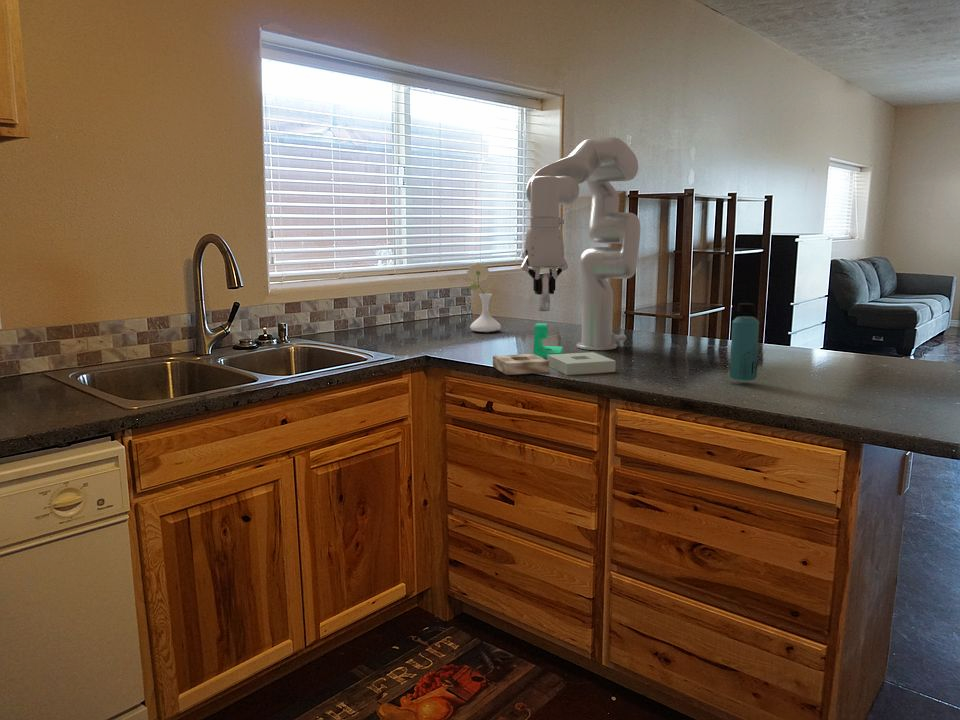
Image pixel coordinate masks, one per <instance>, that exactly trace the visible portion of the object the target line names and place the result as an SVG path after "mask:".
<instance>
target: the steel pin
mask: <svg viewBox="0 0 960 720" xmlns="http://www.w3.org/2000/svg"><path fill="white" fill-rule="evenodd" d="M539 277H540V280H541V294H540V295H538V312H551V311H550V310H551V294H550V273H549V272H540V276H539Z"/></svg>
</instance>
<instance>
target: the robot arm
mask: <svg viewBox="0 0 960 720" xmlns="http://www.w3.org/2000/svg"><path fill="white" fill-rule="evenodd" d="M638 171H639V161H638V158H637V156H636V154H635V153H634V151H633V150H632V149H631V148H630V147H629V146H628V145H627V143H626V142H625V141H623V140H622V139H621V138H618V137H615V136H614V137H612V136H611V137H597V138H596V137H594V138H587V139H585V140H583V141H581V142H579V144H578V145H576V147H575V148H574V149H573V150H572V151H571V152H570V153H569V154H568V155H567V157H564V158H561V159H559V160H557V161H553V162H552V163H549V164H547V165H544V166H543V167H541V168H539V169H537V171H536V172H535V173H533V175H532V176H531V177H530V178H529V180H528V182H527V184H526V189H525V195H526V199H527V200H528V201H529V203H530V229H527V231H526V235H525V241H524V242H525V243H524V255H523V262H522V263H521V266H520V270H521V271H523V272H525V273H527V274H528V275H529V276H530V277H531V279H533V286H532V287H533V291H534V294H535V295H538V296H539V295H540V294H541V280H540V277H539V276H540V273H541V268H542V269H543V268H548V273H550V295H554V294H555V291H556V282H557V281H556V280H557V279H558V277H559V275H560V274H561V273H562V272H564V271H566V270H567V269H568V268H569V265H568V263H567V260H566V259H565V245H564V244H565V243H564V237H563V232H562V229H561V228H560V227H561V226H562V225H563V226H564V225H565V220H564V219H561V217H560V206H561V205H562V206H563V205H566V206H567V205H571V204H573V203H574V202H575V201H576V200H577V199H578V198H579V195H580V185H579V184H583V183H584V182H586V184H587V186H588V189H589V192H590V195H591V206H590V214H589V223H588V237H589V239H590V241H591V242H593V243H596V244H611V245H613V244H620V245H621V247H609V246H593V247H589V248H586V249H585V250H583V252H582V253H581V255H580V258H579V264H580V265H579V267H580V271H581V272H580V273H581V278H582V279H581V280H582V282H581V283H582V298H581V299H582V301H581V302H582V305H581V307H582V309H581V311H582V312H581V341H579V342H577V343H576V347H577V349H581V350H587V351H609V350H614V349H615V350H616V349H617V346H618V345H617V342H618V341H619V342H623V341H626V340H627V336H626V334H616V333H614V332H613V316H614V315H613V312H614V310H613V309H614V307H613V306H614V291H613V289H612V286H611V285H610V283H609V281H608V279H613V280H614V279H617V280H619V279H621V280H624V279H625V280H626V279H627V280H628V279H631V278H632V277H634V275H635V274H636V271H637V266H638V260H639V259H638V258H639V251H640V241H641V223H640V222H641V221H640V219H639V217H638V215H636V214H635V213H633V212H619V206H620V205H619V204H620V196H619V194H618V192H617V190H616V188H615V187H614V186H613V185H612V184H611V182H629V181H631V180H634V179H635V178H636V176H637V174H638ZM531 268H532V269H531Z"/></svg>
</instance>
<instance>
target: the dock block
mask: <svg viewBox="0 0 960 720" xmlns="http://www.w3.org/2000/svg"><path fill="white" fill-rule="evenodd" d="M546 360H548V361H549V368H552V369H554V370H556V371H558V372H560V373H562V374H564V375H566V376H571V375H586V374H601V373H616V363H617V362H616V361H617V360H614V359H612V358H609V357H608V356H604V355H602V354H600V353H597V352H594V351H592V352H573V353H570V352H569V353H562V354H553V355H547V359H546Z"/></svg>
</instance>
